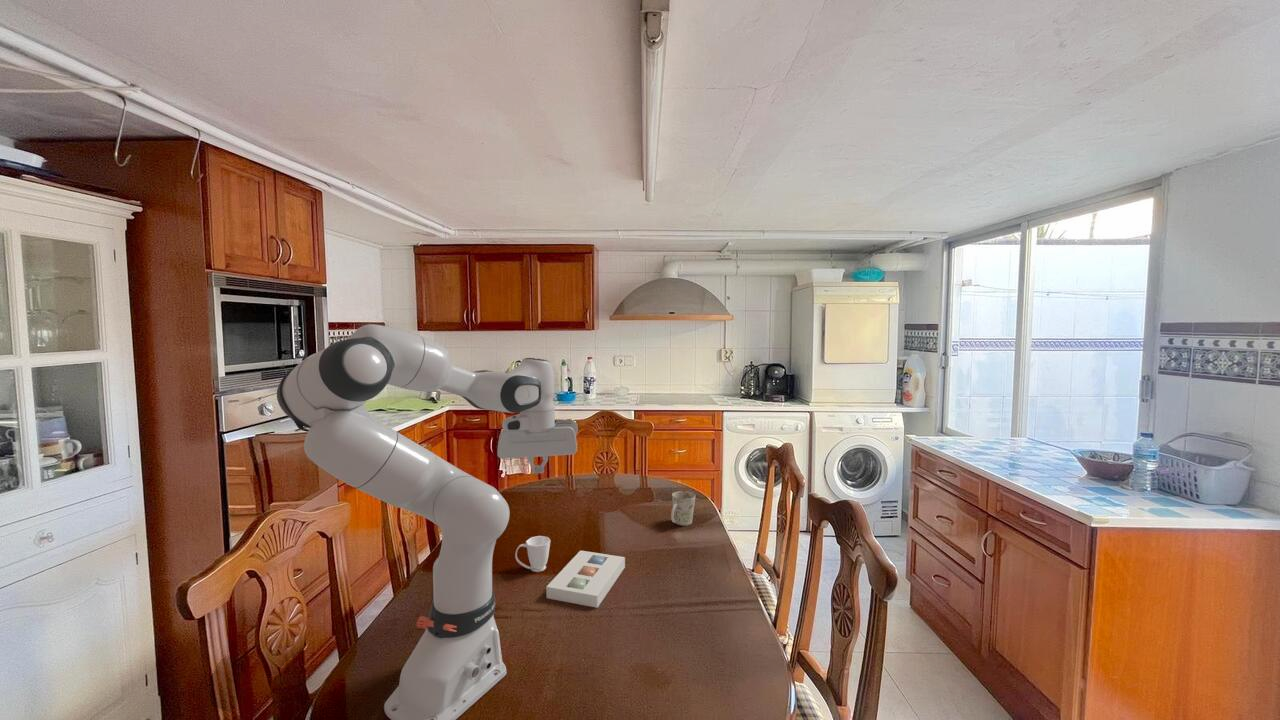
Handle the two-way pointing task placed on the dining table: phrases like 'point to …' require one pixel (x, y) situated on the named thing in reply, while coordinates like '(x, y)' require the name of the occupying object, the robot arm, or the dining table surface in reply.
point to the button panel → (586, 579)
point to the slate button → (597, 560)
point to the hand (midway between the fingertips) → (538, 472)
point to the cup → (536, 553)
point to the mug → (682, 507)
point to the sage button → (578, 583)
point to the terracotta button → (588, 571)
